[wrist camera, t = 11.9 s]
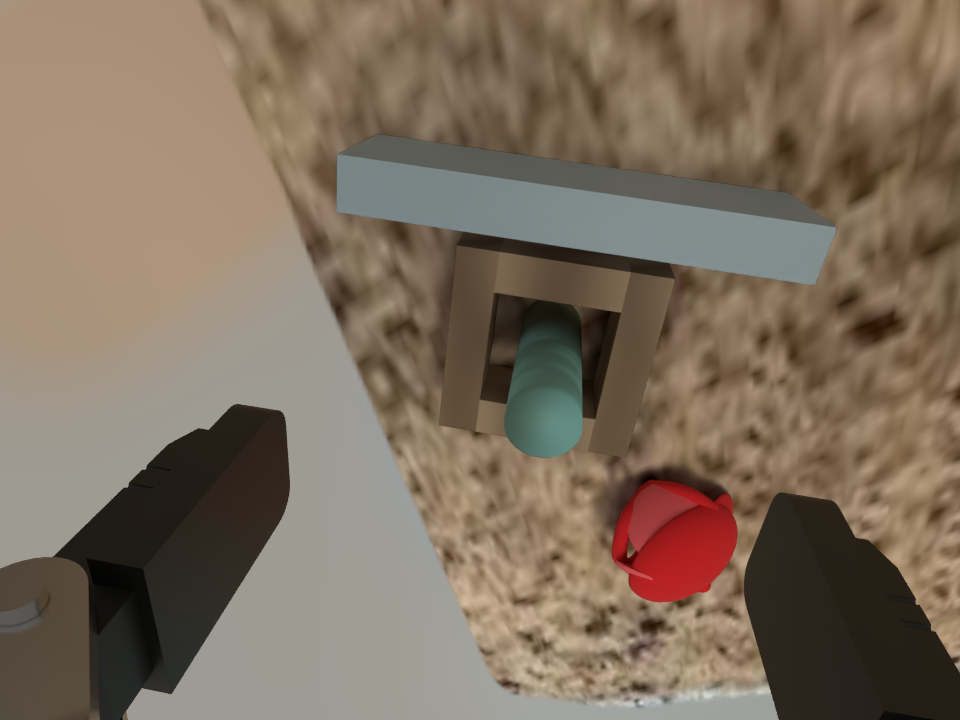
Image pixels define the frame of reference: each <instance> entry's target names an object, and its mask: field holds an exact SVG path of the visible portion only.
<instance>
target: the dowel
mask: <svg viewBox="0 0 960 720" xmlns="http://www.w3.org/2000/svg"><path fill="white" fill-rule="evenodd" d="M504 429H505V433H506V435H507V437H508V439H509V440H510V442H511V443H512V444H513V445H514V446H515V447H516V448H517V449H519V450H520V451H522V452H524V453H526V454H528V455H531V456H535V457H541V458H548V457H555V456H559V455H562V454H564V453H566V452H567V451H569V450H570V449H572V448H573V447H574V446H575V445H576V444H577V442H578V441H579V439H580V437H581V434H582V429H583V416H582V343H581V319H580V316H579V314H578V312H577V311H576V310H575V308H574V307H573V306H571V305H570V304H563V303H557V302H551V301H545V300H541V301H538V302H537V303H535V304H533V305H532V306H531V307H530V308H529V309H528V310H527V312H526V314H525V316H524V319H523V323H522V328H521V334H520V339H519V344H518V349H517V354H516V360H515V365H514V370H513V375H512V380H511V386H510V391H509V396H508V401H507V406H506V412H505V417H504Z"/></svg>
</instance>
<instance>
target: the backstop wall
mask: <svg viewBox="0 0 960 720" xmlns="http://www.w3.org/2000/svg"><path fill="white" fill-rule="evenodd" d="M337 212H340V213H346V214H353V215H359V216H366V217H372V218H379V219H385V220H392V221H398V222H405V223H411V224H418V225H424V226H431V227H437V228H444V229H450V230H457V231H463V232H470V233H476V234H483V235H489V236H496V237H503V238H509V239H516V240H522V241H529V242H535V243H542V244H548V245H555V246H561V247H568V248H574V249H581V250H587V251H594V252H600V253H607V254H613V255H620V256H626V257H633V258H639V259H646V260H653V261H659V262H666V263H672V264H679V265H685V266H692V267H698V268H705V269H711V270H718V271H724V272H731V273H737V274H744V275H750V276H757V277H763V278H770V279H776V280H783V281H789V282H796V283H802V284H809V285H815V283H816V281H817V278H818V276H819V273H820V271H821V268H822V266H823V263H824V261H825V258H826V255H827V253H828V250H829V248H830V245H831V243H832V240H833V238H834V235H835V233H836V230H837V227H836V226H834V225H833V224H832V223H830V222H829V221H828V220H826V219H825V218H824V217H822V216H821V215H820V214H818V213H817V212H815V211H814V210H813V209H811V208H810V207H809V206H807V205H806V204H805V203H803V202H802V201H801V200H799V199H798V198H796V197H795V196H794V195H792V194H791V193H785V192H778V191H771V190H764V189H757V188H750V187H743V186H736V185H729V184H722V183H715V182H708V181H701V180H694V179H687V178H680V177H673V176H667V175H660V174H653V173H646V172H639V171H632V170H625V169H618V168H611V167H604V166H597V165H590V164H583V163H576V162H569V161H562V160H555V159H548V158H541V157H535V156H528V155H521V154H514V153H507V152H500V151H493V150H486V149H479V148H472V147H465V146H458V145H451V144H444V143H437V142H430V141H423V140H416V139H409V138H402V137H396V136H389V135H382V134H377V135H375V136H373V137H371V138H369V139H367V140H365V141H363V142H361V143H359V144H357V145H355V146H353V147H351V148H349V149H347V150H345V151H343V152H341V153H339V154H337Z"/></svg>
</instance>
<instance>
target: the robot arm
mask: <svg viewBox="0 0 960 720" xmlns="http://www.w3.org/2000/svg"><path fill="white" fill-rule="evenodd" d="M289 479H290V478H289V463H288V449H287V433H286V421H285V417H284V415H283V413H282V412H281V411H278V410H271V409H265V408H259V407H253V406H247V405H241V404H236V405H233V406H231V407H230V408H229V409H228V410H227V412H225V413H224V414H223V416H222V417H221V418H220V419H219V420H218V421H217V422H216V423H215V424H214V425H213V426H212V427H211V428H210V429H209V430H205V429H199V428H198V429H196V430H194V431H193V432H191V433H189V434H187V435H185V436H183V437H181V438H179V439H177V440H175V441H174V442H172V443H170V444H168V445H167V446H166V447H165V448H164V449H163V450H162V451H161V452H160V453H159V454H158V455H157V456H156V457H155V458H154V459H153V460H152V461H151V462H150V463H149V464H148V465H147V468H146V470H142V471H140V473H138V474H137V475H136V476H135V477H134V478H133V479H132V480H131V481H130V482H129V486H128V488H123V489H122V490H121V491H120V492H119V493H118V494H117V495H116V496H115V497H114V498H113V499H112V500H111V501H110V502H109V503H108V504H107V505H106V506H105V507H104V508H103V509H102V510H101V511H100V512H99V513H98V514H96V516H94V517H93V518H92V519H91V521H89V522H88V523H87V524H86V525H85V526H84V527H83V528H82V529H81V530H80V531H79V532H78V533H77V534H76V535H75V536H74V537H73V538H72V539H71V540H70V541H69V542H68V543H67V544H66V545H65V546H64V547H63V548H62V549H61V550H60V551H59V552H58V553H57V554H56V555H55V556H53V557H42V558H33V559H28V560H24V561H20V562H17V563H13V564H11V565H8V566H6V567H3V568H1V569H0V720H128V719H127V714H126V710H127V709H128V707H129V706H130V704H131V703H132V702H133V700H134V699H135V697H136V696H137V694H138V693H139V691H140V690H141V688H144V689H149V690H154V691H159V692H164V693H168V694H172V692H173V691H174V689H175V688H176V686H177V684H178V683H179V681H180V680H181V678H182V676H183V675H184V673H185V672H186V670H187V669H188V667H189V665H190V664H191V662H192V661H193V659H194V657H195V656H196V654H197V653H198V651H199V649H200V647H201V646H202V645H203V643H204V642H205V640H206V638H207V637H208V635H209V634H210V632H211V630H212V629H213V627H214V625H215V624H216V622H217V621H218V619H219V618H220V616H221V614H222V613H223V611H224V610H225V608H226V607H227V605H228V603H229V602H230V600H231V599H232V597H233V595H234V594H235V592H236V590H237V589H238V587H239V586H240V584H241V583H242V581H243V579H244V578H245V576H246V575H247V573H248V572H249V570H250V568H251V567H252V565H253V563H254V562H255V560H256V559H257V557H258V556H259V554H260V552H261V551H262V549H263V548H264V546H265V544H266V543H267V541H268V540H269V538H270V536H271V535H272V533H273V532H274V530H275V529H276V527H277V525H278V524H279V522H280V520H281V519H282V516H283V514H284V512H285V509H286V505H287V502H288V497H289V490H290V480H289ZM744 596H745V602H746V607H747V610H748V614H749V617H750V621H751V624H752V628H753V631H754V635H755V638H756V642H757V645H758V649H759V652H760V655H761V659H762V662H763V666H764V669H765V673H766V676H767V680H768V683H769V687H770V690H771V694H772V697H773V701H774V704H775V707H776V711H777V715H778V718H779V720H960V672H959V671H958V669H957V667H956V666H955V664H954V662H953V661H952V659H951V657H950V656H949V654H948V652H947V651H946V649H945V647H944V645H943V644H942V642H941V640H940V639H939V637H938V635H937V634H936V632H934V631H931V624H930V622H929V620H928V618H927V617H926V615H925V613H924V612H923V610H922V608H921V607H920V605H916V603H915V600H916V598H915V597H914V595H913V593H912V592H911V590H910V588H909V586H908V585H907V583H906V581H905V580H904V578H903V576H902V575H901V573H900V571H899V570H898V568H897V567H896V566H895V565H894V564H893V563H892V562H891V561H890V560H888V559H887V558H886V557H885V556H884V555H883V554H882V553H881V552H880V551H879V550H878V549H877V548H876V547H875V546H874V545H873V544H872V543H871V542H869V541H868V540H865V539H859V538H855V536H854V534H853V532H852V531H851V529H850V527H849V525H848V523H847V521H846V520H845V518H844V516H843V514H842V512H841V510H840V509H839V507H838V505H837V504H836V503H835V502H833V501H832V500H826V499H819V498H813V497H807V496H801V495H794V494H788V493H782V492H781V493H778V494H777V495H776V496H775V497H774V499H773V500H772V503H771V505H770V507H769V510H768V512H767V515H766V517H765V520H764V522H763V525H762V528H761V530H760V533H759V535H758V538H757V540H756V543H755V545H754V548H753V550H752V553H751V555H750V558H749V560H748V563H747V567H746V571H745V578H744Z"/></svg>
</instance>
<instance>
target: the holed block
mask: <svg viewBox="0 0 960 720" xmlns="http://www.w3.org/2000/svg"><path fill="white" fill-rule="evenodd" d="M674 283H675V277H674V274H673V272H672V269H671V267H670V264H669V263H666V262H659V261H653V260H646V259H639V258H633V257H626V256H620V255H613V254H607V253H600V252H594V251H587V250H581V249H574V248H568V247H561V246H555V245H548V244H542V243H535V242H529V241H522V240H516V239H509V238H503V237H496V236H489V235H483V234H476V233H470V232H464V234H463V235H462V237H461V239H460V241H459V242H458V244H457V248H456V258H455V268H454V278H453V288H452V298H451V308H450V318H449V328H448V338H447V348H446V358H445V368H444V378H443V388H442V398H441V408H440V418H439V425H442V426H447V427H453V428H459V429H464V430H470V431H476V432H482V433H487V434H493V435H499V436H504V437H507V435H506V433H505V429H504V417H505V412H506V406H507V401H508V396H509V391H510V386H511V380H512V375H513V370H514V368H510V367H504V366H498V365H492V364H489V363H490V356H491V349H492V342H493V335H494V327H495V320H496V313H497V306H498V298H499V293H501V294H507V295H513V296H520V297H526V298H532V299H538V300H545V301H551V302H557V303H563V304H570V305H576V306H582V307H589V308H595V309H601V310H607V311H610V313H609V317H608V322H607V326H606V330H605V334H604V339H603V343H602V347H601V352H600V356H599V360H598V365H597V369H596V373H595V378H594V382H593V381H587V380H582V416H583V429H582V434H581V437H580V439H579V441H578V442H577V444H576V445H575V446H574V447H573V449H578V450H584V451H590V452H596V453H601V454H607V455H613V456H618V457H624V458H626V455H627V451H628V448H629V444H630V441H631V437H632V433H633V430H634V426H635V423H636V419H637V415H638V412H639V408H640V405H641V401H642V398H643V394H644V390H645V387H646V383H647V380H648V376H649V372H650V369H651V365H652V362H653V358H654V355H655V351H656V347H657V344H658V340H659V337H660V333H661V329H662V326H663V322H664V319H665V315H666V312H667V308H668V304H669V301H670V297H671V294H672V290H673V286H674Z"/></svg>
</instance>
